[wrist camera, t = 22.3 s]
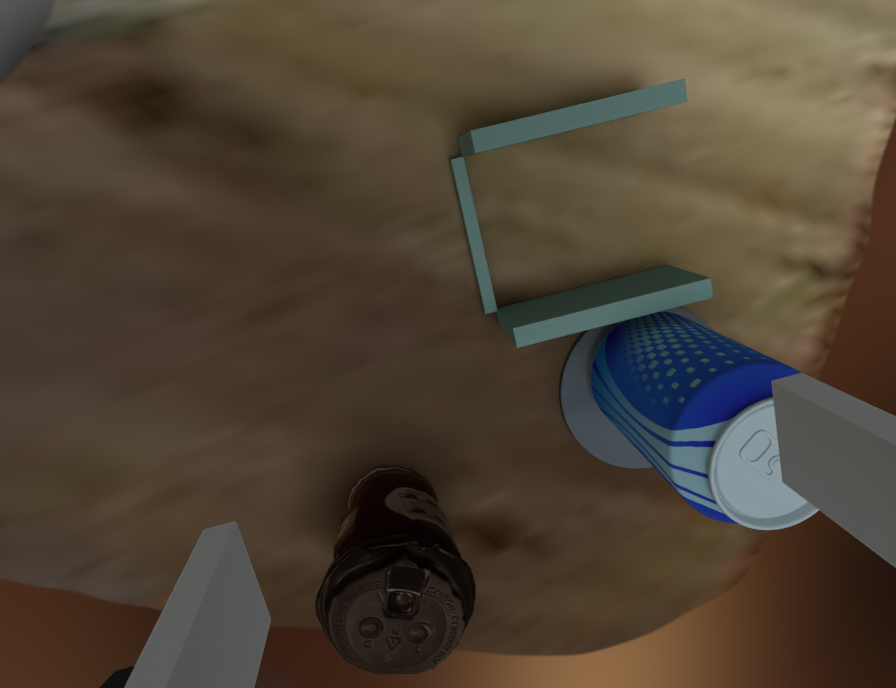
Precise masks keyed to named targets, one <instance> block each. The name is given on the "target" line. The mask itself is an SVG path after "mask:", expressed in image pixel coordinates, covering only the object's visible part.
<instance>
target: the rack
mask: <svg viewBox="0 0 896 688" xmlns="http://www.w3.org/2000/svg"><path fill="white" fill-rule="evenodd" d="M684 102H688V101H687V94H686V86H685V79H682V80H678V81H673V82H669V83H665V84H661V85H657V86H653V87H649V88H645V89H640V90H636V91H632V92H628V93H624V94H620V95H616V96H612V97H607V98H603V99H599V100H595V101H591V102H587V103H583V104H579V105H574V106H570V107H566V108H562V109H558V110H554V111H550V112H546V113H541V114H537V115H533V116H529V117H525V118H521V119H517V120H513V121H508V122H504V123H500V124H496V125H492V126H488V127H484V128H480V129H475V130H471V131H469V132H467V133H465V134H463V135H461V136H459V137H458V141H459V146H460V150H461V155H462V157H459V158H455V159H451V160H450V164H451V168H452V173H453V177H454V182H455V186H456V190H457V195H458V199H459V204H460V208H461V213H462V217H463V221H464V226H465V230H466V235H467V239H468V244H469V248H470V252H471V257H472V261H473V266H474V270H475V275H476V279H477V283H478V288H479V292H480V297H481V301H482V305H483V310H484V312H485V314H488V313H492V312H496V313H497V318H498V322H499V326H500V327H501V329H502V330H503V331H504V332H505V333H506V335H507V336H508V337H509V338H510V340H511V341H512V342H513V343H514V345H515V346H516V347H517V348H519V347H523V346H526V345H530V344H534V343H538V342H542V341H546V340H550V339H554V338H558V337H562V336H566V335H569V334H573V333H577V332H581V331H585V330H589V329H593V328H597V327H601V326H605V325H609V324H612V323H616V322H620V321H624V320H628V319H632V318H636V317H640V316H644V315H648V314H652V313H655V312H659V311H663V310H667V309H671V308H675V307H679V306H683V305H687V304H691V303H695V302H698V301H702V300H706V299H710V298H713V292H712V285H711V278H709V277H705V276H702V275H699V274H695V273H692V272H689V271H685V270H682V269H679V268H676V267H672V266H669V265H666V266H662V267H658V268H654V269H650V270H646V271H642V272H638V273H635V274H631V275H627V276H623V277H619V278H615V279H611V280H607V281H603V282H599V283H595V284H591V285H587V286H583V287H579V288H575V289H571V290H567V291H563V292H559V293H556V294H552V295H548V296H544V297H540V298H536V299H532V300H528V301H524V302H520V303H516V304H512V305H508V306H504V307H500V308H497V306H496V302H495V297H494V293H493V288H492V284H491V279H490V274H489V270H488V265H487V261H486V256H485V252H484V247H483V243H482V238H481V234H480V229H479V225H478V220H477V215H476V211H475V206H474V202H473V197H472V193H471V188H470V184H469V179H468V175H467V170H466V165H465V161H464V156H468V155H472V154H476V153H480V152H484V151H488V150H492V149H496V148H500V147H504V146H509V145H513V144H517V143H521V142H525V141H529V140H533V139H537V138H541V137H545V136H550V135H554V134H558V133H562V132H566V131H570V130H574V129H578V128H582V127H586V126H591V125H595V124H599V123H603V122H607V121H611V120H615V119H619V118H623V117H628V116H632V115H636V114H640V113H644V112H648V111H652V110H656V109H660V108H664V107H668V106H672V105H676V104H680V103H684Z"/></svg>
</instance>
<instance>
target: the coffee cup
mask: <svg viewBox="0 0 896 688" xmlns="http://www.w3.org/2000/svg"><path fill="white" fill-rule="evenodd" d="M348 507H349V515H348V516H347V517H346V518H344V519H343V520H342V522H341V529H340V532H339V534H338V536H337V539H336V542H335V544H334V560H333V562H332V563H331V565H330V567H329V569H328V571H327V573H326V575H325V578H324V580H323V583H322V585H321V587H320V590H319V592H318V594H317V597H316V603H315V606H316V614H317V617H318V620H319V621H320V623H321V625H322V627H323V630H324V632H325V634H326V636H327V638H328V639H329V641H330V642H332V643H333V645H334V647H335V648H336V650H337V651H338V652H339V653H340V654H341V655H342V656H343V657H344V659H345V660H347V661H348V662H349V663H351V664H353V665H355V666H357V667H359V668H361V669H363V670H366V671H370V672H372V673H375V674H417V673H420V672H425V671H427V670H429V669H433V668H435V667H436V666H437V665H438V664H439V663H441V662H442V661H444V660H445V659H446V658H447V657H448V655H450V654H451V652H452V650H453V649H454V648H455V647H456V646H457V645H458V643H459V640H460V638H461V636H462V635H463V632H464V630H465V628H466V627H467V624H468V622H469V619H470V618H471V616H472V614H473V611H474V601H475V594H476V590H475V587H476V585H475V580H474V577H473V574H472V572H471V569H470V567H469V566H468V564H467V563H466V562H465V561H464V560H463V559H462V558H461V555H460V553H459V551H458V549H457V547H456V544H455V541H454V539H453V535H452V533H451V530H450V528H449V526H448V523H447V520H446V517H445V515H444V513H443V511H442V508H441V507H440V505H439V503H438V500H437V497H436V494H435V492H434V490H433V488H432V486H431V484H430V483H429V482H428V481H427V480H425V479H424V478H423V477H422V476H420V475H418V474H416V473H414V472H412V471H410V470H406V469H401V468H398V467H390V468H377V469H374V470H372V471H371V472H370V473H369V474H368V475H367V476H365V477H363V478H361V479H360V480H359V481H358V483H357V485H356V486H354V487H353V489H352V492H351V495H350V497H349V504H348Z"/></svg>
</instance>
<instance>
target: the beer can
mask: <svg viewBox="0 0 896 688" xmlns="http://www.w3.org/2000/svg"><path fill="white" fill-rule="evenodd" d="M799 373H801V372H799V371H798V370H796V369H794V368H792V367H789V366H787V365H785V364H783V363H781V362H779V361H777V360H774V359H772V358H770V357H768V356H766V355H764V354H762V353H760V352H757V351H755V350H753V349H751V348H749V347H747V346H745V345H742V344H740V343H738V342H736V341H734V340H732V339H730V338H727V337H725V336H723V335H721V334H719V333H717V332H715V331H712V330H710V329H708V328H706V327H704V326H702V325H700V324H697V323H695V322H693V321H691V320H689V319H687V318H685V317H682V316H680V315H677V314H674V313H670V312H663V311H659V312H655V313H652V314H648V315H644V316H640V317H636V318H632V319H628V320H625V321H623V322H621V323H620V324H619V325H617V326H616V327H615V328H614V329H613V330H611V331H610V332H609V334H608V335H607V336H606V337H605V338H604V340H603V341H602V343H601V344H600V346H599V347H598V349H597V352H596V354H595V356H594V359H593V363H592V368H591V388H592V392H593V396H594V398H595V401H596V403H597V405H598V407H599V408H600V410H601V411H602V412H603V414H604V415H605V416H606V417H607V418H608V419H609V420H610V421H611V422H612V423H613V424H614V425H615V426H616V427H617V428H618V430H619V431H620V432H621V433H622V434H623V435H624V436H625V437H626V438H627V439H628V440H629V441H630V442H631V443H632V444H633V445H634V447H635V448H636V449H637V450H638V451H639V452H640V453H641V454H642V455H643V456H644V457H645V458H646V459H647V460H648V461H649V463H650V464H651V465H652V466H653V467H654V468H655V469H656V470H657V471H658V472H659V473H660V474H661V475H662V476H663V477H664V478H665V480H666V481H667V482H668V483H669V484H670V485H671V486H672V487H673V488H674V489H675V490H676V491H677V492H678V493H679V494H680V496H681V497H682V498H683V499H684V500H685V501H686V502H687V503H688V504H689V505H690V506H692V507H693V508H694V509H696V510H697V511H699V512H700V513H702V514H703V515H705V516H707V517H710V518H712V519H715V520H718V521H722V522H726V523H733V524H741V525H743V526H746V527H749V528H753V529H759V530H775V529H781V528H786V527H789V526H792V525H795V524H797V523H800V522H801V521H803V520H805V519H807V518H809V517H810V516H812V515H813V514H815V513H816V512H817V511H818V510H819V509H817V508H816V507H815V506H813V505H812V504H811V503H809V502H808V501H807V500H805V499H804V498H803V497H801V496H800V495H799V494H797V493H796V492H795V491H793V490H792V489H791V488H789V487H788V486H787V485H785V484H784V483H783V482H782V474H781V465H780V456H779V447H778V438H777V429H776V420H775V411H774V402H773V393H772V384H771V381H772V380H776V379H780V378H784V377H787V376H791V375H795V374H799Z"/></svg>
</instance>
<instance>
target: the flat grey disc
mask: <svg viewBox="0 0 896 688" xmlns="http://www.w3.org/2000/svg"><path fill="white" fill-rule="evenodd" d="M663 312H670V313H674V314H677V315H680V316H682V317H685V318H687V319H689V320H691V321H693V322H695V323H697V324H700V325H702V326H704V327H706V328H708V329H710V330H712V331H713V329H712V328H711V327H710V326H709V325H708V324H707V323H706V322H705V321H703V320H702V319H701V318H700V317H698V316H697V315H695V314H693V313H692V312H690V311H688V310H686V309H683V308H681V307H675V308H671V309H667V310H663ZM624 321H625V320H624ZM621 322H623V321H620V322H616V323H612V324H609V325H605V326H601V327H597V328H593V329H589V330H585V331H584V332H583V333H582V334H581V336H580V337H579V338H578V340H577V341H576V342H575V344H574V345H573V347H572V349H571V351H570V352H569V354H568V356H567V359H566V361H565V364H564V367H563V370H562V374H561V380H560V403H561V409H562V413H563V416H564V419H565V421H566V423H567V426H568V428H569V429H570V431H571V432H572V434H573V436H574V437H575V438H576V439H577V441H578V442H579V443H580V444H581V445H582V446H583V447H584V448H585V449H586V450H587V451H588V452H589V453H591V454H592V455H594V456H595V457H597V458H598V459H600V460H602V461H604V462H606V463H609V464H612V465H615V466H620V467H625V468H649V467H653V466H652V465H651V464H650V463H649V461H648V460H647V459H646V458H645V457H644V456H643V455H642V454H641V453H640V452H639V451H638V450H637V449H636V448H635V447H634V445H633V444H632V443H631V442H630V441H629V440H628V439H627V438H626V437H625V436H624V435H623V434H622V433H621V432H620V431H619V430H618V428H617V427H616V426H615V425H614V424H613V423H612V422H611V421H610V420H609V419H608V418H607V417H606V416H605V415H604V414H603V412H602V411H601V410H600V408H599V407H598V405H597V403H596V401H595V398H594V396H593V392H592V388H591V368H592V363H593V359H594V356H595V354H596V352H597V349H598V347H599V346H600V344H601V343H602V341H603V340H604V338H605V337H606V336H607V335H608V334H609V332H610V331H611V330H613V329H614V328H615V327H616V326H617V325H619V324H620V323H621Z"/></svg>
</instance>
